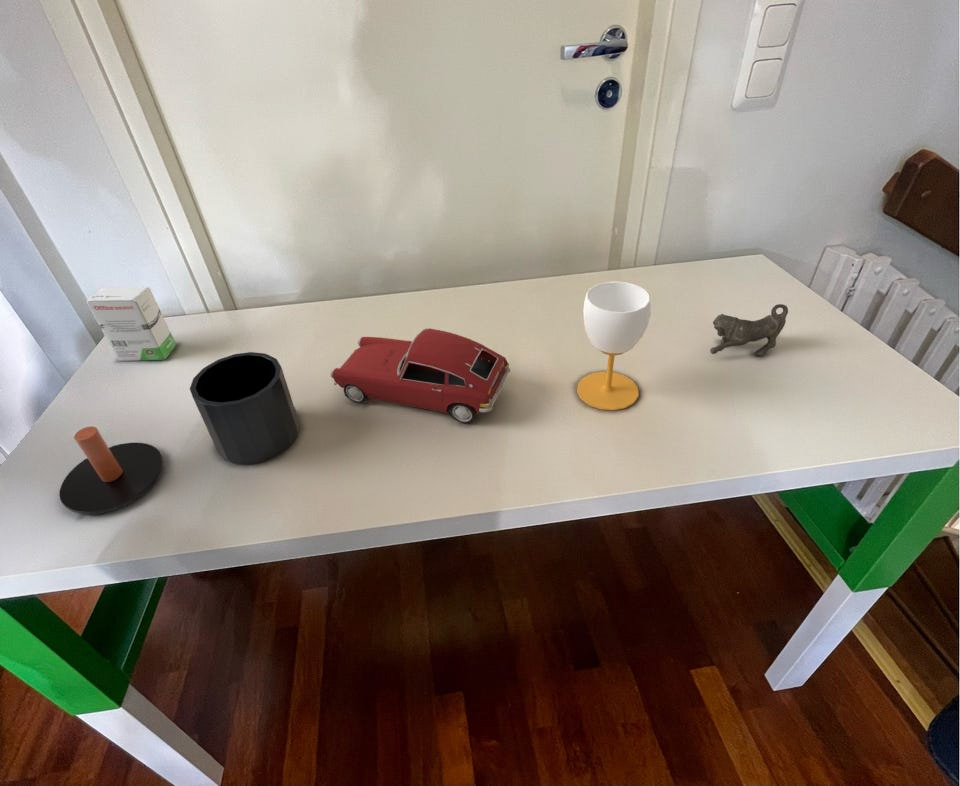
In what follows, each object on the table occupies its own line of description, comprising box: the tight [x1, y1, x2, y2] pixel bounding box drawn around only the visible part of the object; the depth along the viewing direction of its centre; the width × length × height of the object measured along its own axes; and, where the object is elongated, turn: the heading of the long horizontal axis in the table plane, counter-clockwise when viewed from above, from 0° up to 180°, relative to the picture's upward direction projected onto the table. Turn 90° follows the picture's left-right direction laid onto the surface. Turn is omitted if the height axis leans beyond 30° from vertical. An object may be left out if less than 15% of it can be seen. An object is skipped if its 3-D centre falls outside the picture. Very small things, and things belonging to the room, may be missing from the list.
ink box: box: [86, 286, 177, 362], centre depth 99 cm, size 9×5×12 cm, turn 86°
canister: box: [189, 351, 300, 466], centre depth 81 cm, size 11×11×10 cm
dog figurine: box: [709, 303, 789, 357], centre depth 93 cm, size 12×6×7 cm, turn 95°
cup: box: [576, 280, 652, 412], centre depth 83 cm, size 9×9×16 cm
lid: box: [59, 425, 164, 515], centre depth 76 cm, size 12×12×9 cm
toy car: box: [330, 328, 511, 424], centre depth 87 cm, size 11×25×10 cm, turn 71°
